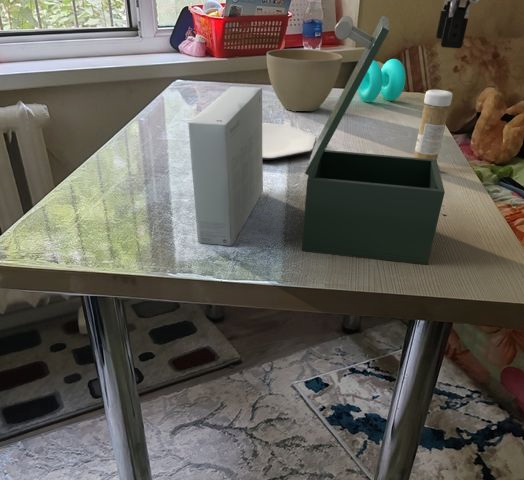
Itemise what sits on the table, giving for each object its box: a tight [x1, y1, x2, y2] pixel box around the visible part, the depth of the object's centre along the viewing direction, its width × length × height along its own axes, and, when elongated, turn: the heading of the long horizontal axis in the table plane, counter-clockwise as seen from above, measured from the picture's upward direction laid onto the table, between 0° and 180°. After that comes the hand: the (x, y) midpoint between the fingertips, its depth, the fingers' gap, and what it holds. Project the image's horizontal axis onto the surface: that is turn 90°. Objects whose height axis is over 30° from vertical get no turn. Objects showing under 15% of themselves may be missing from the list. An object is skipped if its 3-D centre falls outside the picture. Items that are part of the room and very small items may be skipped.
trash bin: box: [301, 149, 446, 266], centre depth 74 cm, size 17×13×10 cm
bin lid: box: [304, 15, 390, 177], centre depth 67 cm, size 17×13×5 cm
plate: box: [262, 122, 317, 161], centre depth 111 cm, size 24×24×2 cm
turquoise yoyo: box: [356, 58, 406, 103], centre depth 144 cm, size 10×10×10 cm
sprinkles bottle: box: [413, 89, 454, 161], centre depth 98 cm, size 5×5×14 cm
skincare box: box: [187, 86, 264, 247], centre depth 77 cm, size 21×5×16 cm, turn 168°
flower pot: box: [266, 48, 343, 112], centre depth 134 cm, size 18×18×12 cm
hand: (447, 42), depth 90 cm, fingers open, 9 cm apart
